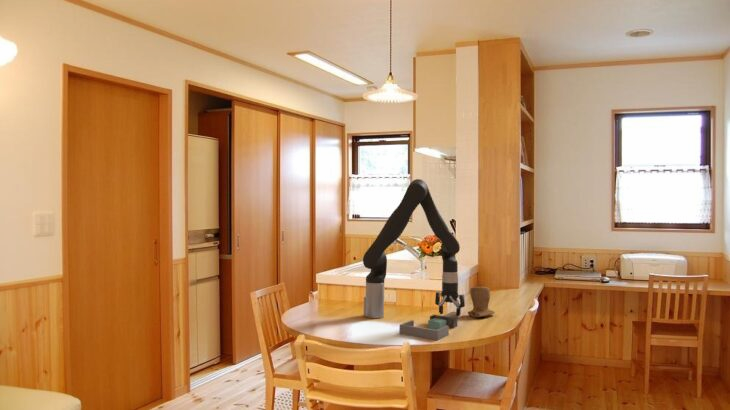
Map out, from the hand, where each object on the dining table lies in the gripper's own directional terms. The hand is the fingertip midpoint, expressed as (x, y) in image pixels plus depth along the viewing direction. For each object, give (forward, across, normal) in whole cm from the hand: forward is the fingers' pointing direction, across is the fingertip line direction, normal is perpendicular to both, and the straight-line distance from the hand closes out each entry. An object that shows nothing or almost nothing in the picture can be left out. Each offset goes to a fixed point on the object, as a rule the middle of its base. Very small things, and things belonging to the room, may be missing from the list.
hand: (449, 315), depth 273 cm
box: (+4, 0, -27) cm, 27 cm away
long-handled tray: (+4, 0, 0) cm, 4 cm away
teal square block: (+4, 0, -13) cm, 14 cm away
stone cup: (+4, +5, +25) cm, 26 cm away
